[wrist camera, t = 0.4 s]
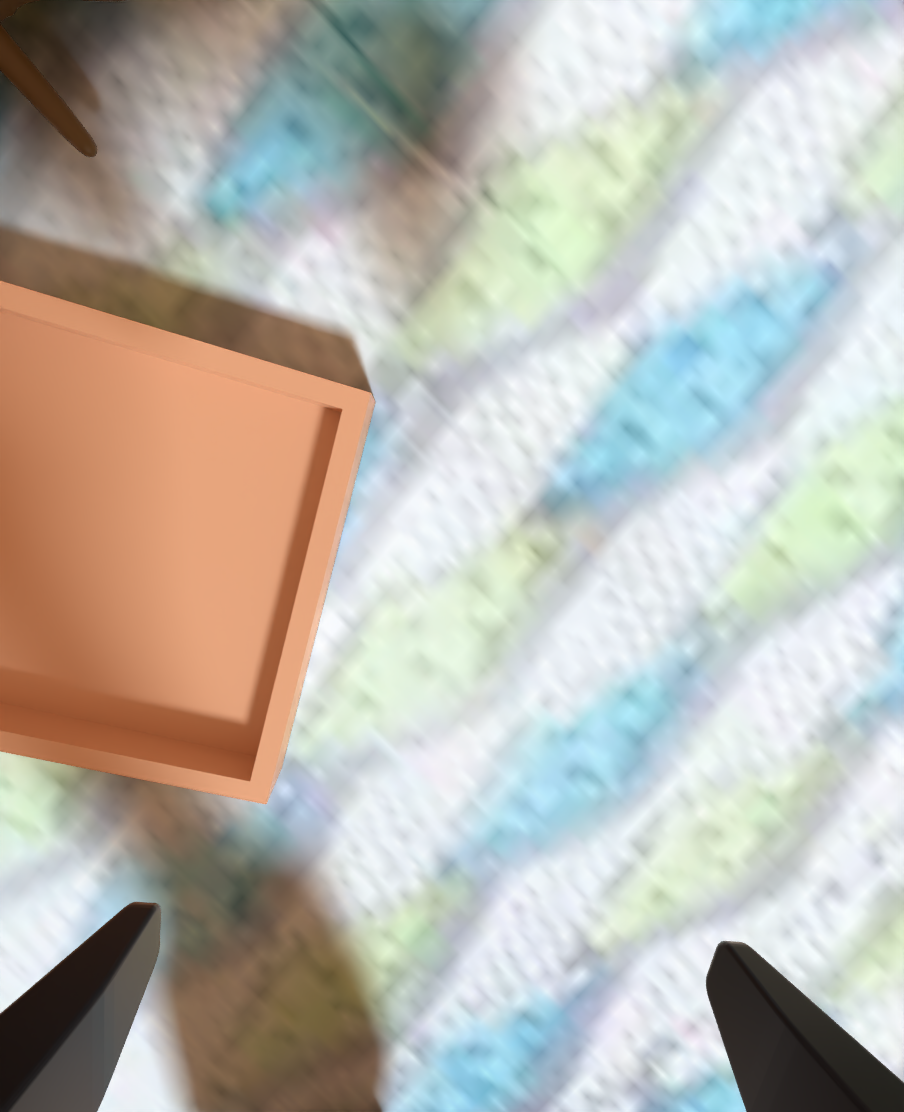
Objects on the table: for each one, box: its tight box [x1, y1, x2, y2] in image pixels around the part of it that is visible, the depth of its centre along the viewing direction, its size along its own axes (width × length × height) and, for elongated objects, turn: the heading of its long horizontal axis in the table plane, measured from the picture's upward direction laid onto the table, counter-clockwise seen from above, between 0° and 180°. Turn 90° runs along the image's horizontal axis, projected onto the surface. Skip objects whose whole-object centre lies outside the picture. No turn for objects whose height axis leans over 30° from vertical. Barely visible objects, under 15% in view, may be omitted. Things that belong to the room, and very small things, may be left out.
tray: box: [0, 281, 375, 804], centre depth 19 cm, size 16×16×2 cm
